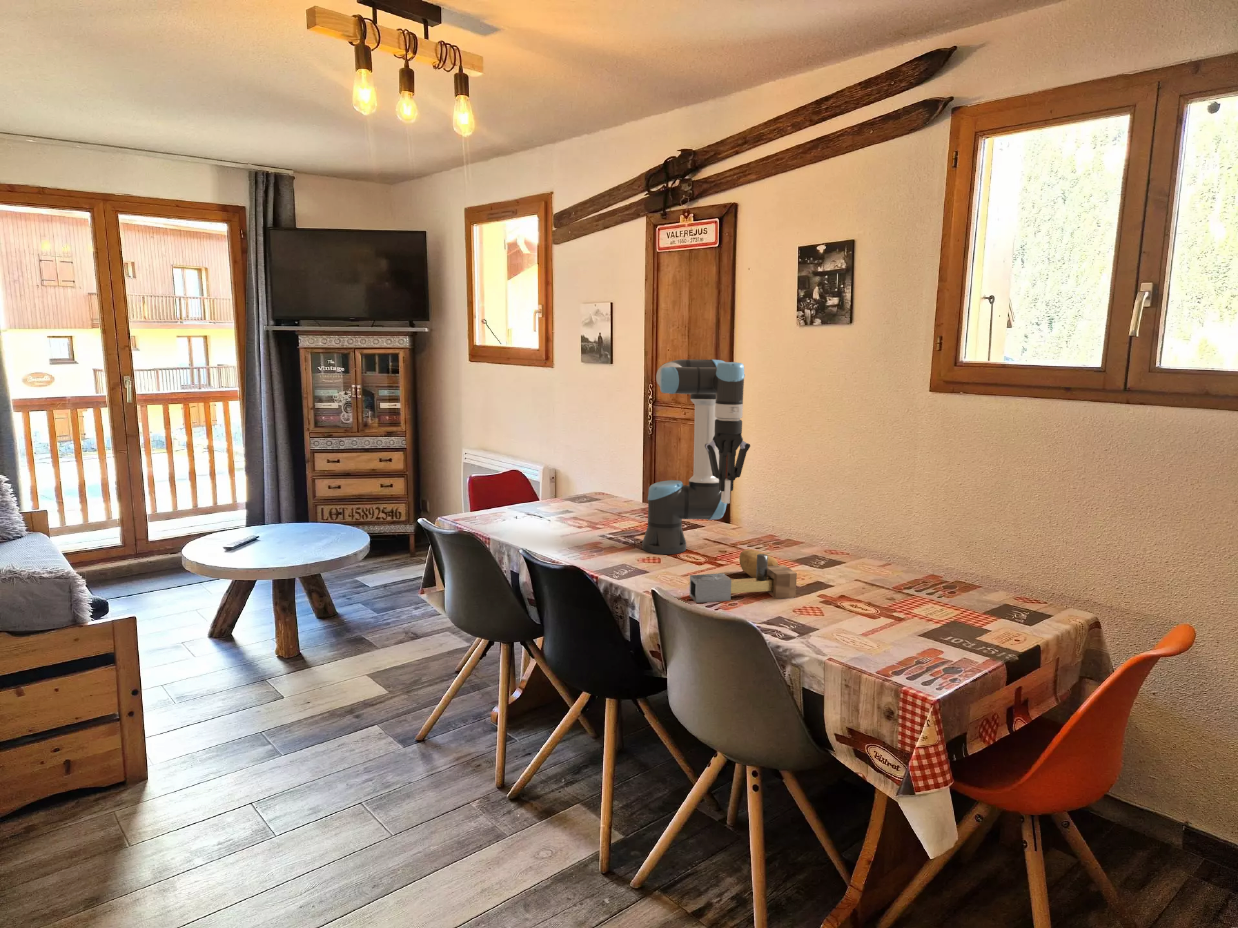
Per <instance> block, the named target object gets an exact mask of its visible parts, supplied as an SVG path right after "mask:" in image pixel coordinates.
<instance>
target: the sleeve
mask: <svg viewBox="0 0 1238 928" xmlns="http://www.w3.org/2000/svg"><path fill="white" fill-rule="evenodd" d="M731 580H732V578H730V577H729V576H727V575H726V574H725V572H724V573H707V574H706V573H705V574H704V573H703V574H690V575H689V595H688V596H689V597H690V598H691V600H693V602H695V603H696V604H699V603H715V602H728V601H729V602H730V601H731V600H732V599H731V598H732V593H731ZM731 602H732V601H731Z"/></svg>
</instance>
